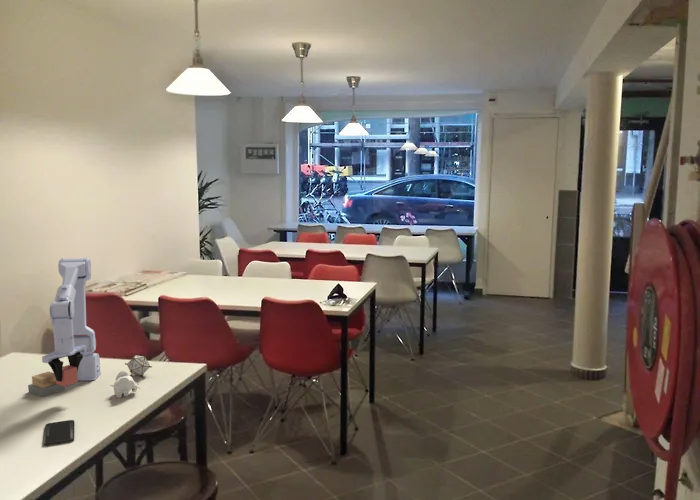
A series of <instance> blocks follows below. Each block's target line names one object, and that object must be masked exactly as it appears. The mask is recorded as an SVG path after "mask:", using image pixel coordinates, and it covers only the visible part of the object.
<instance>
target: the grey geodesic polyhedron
mask: <svg viewBox="0 0 700 500" xmlns="http://www.w3.org/2000/svg"><path fill="white" fill-rule="evenodd" d="M124 365H125V366H127V367H128V370H129V373H130V376H131V377H132V376H134V375H135V376H139V377H140V378H143V375H144V374H145V373H146V372H147V371H148V370H149V369H150V368H151V369H152V368H153V366H152V365H150V363H149V361H148V359H147V354H145V355H137V354H136V353H134V356H133V357H131V359H130V360H129V361H128V362H125V363H124Z"/></svg>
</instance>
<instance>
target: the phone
mask: <svg viewBox="0 0 700 500" xmlns="http://www.w3.org/2000/svg"><path fill="white" fill-rule="evenodd" d="M44 426H45V427H44V435H43V446H44V447H50V446H57V445H61V444H63V445H64V444H69V443H73V442H75V420H74V419H68V420H62V421H56V422H48V423H46V424H45V425H44Z"/></svg>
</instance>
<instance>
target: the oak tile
mask: <svg viewBox="0 0 700 500" xmlns="http://www.w3.org/2000/svg"><path fill="white" fill-rule="evenodd" d="M31 381H32V382H31V384H33V385H35V386H38V387H41V388H45V387H48V386H51V385H54V384H56V377H55V375H54V372H53V371H45V372H41V373H39V374H35V375H32V376H31Z"/></svg>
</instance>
